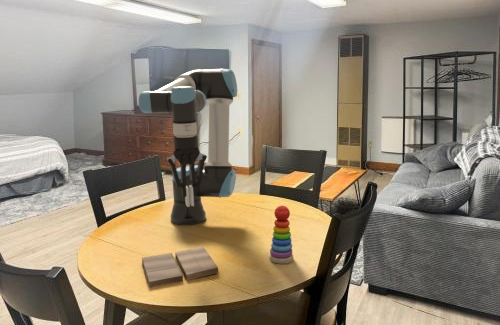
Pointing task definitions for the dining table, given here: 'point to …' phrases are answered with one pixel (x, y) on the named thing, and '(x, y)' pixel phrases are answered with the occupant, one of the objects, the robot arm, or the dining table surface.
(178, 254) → the plank
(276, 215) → the stacking toy
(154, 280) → the panel
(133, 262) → the dining table surface
